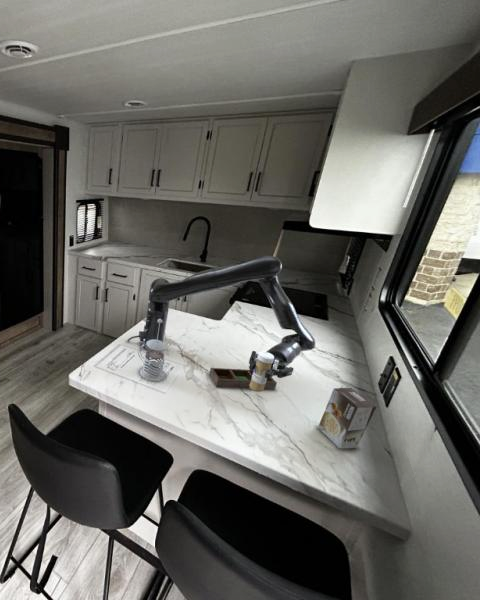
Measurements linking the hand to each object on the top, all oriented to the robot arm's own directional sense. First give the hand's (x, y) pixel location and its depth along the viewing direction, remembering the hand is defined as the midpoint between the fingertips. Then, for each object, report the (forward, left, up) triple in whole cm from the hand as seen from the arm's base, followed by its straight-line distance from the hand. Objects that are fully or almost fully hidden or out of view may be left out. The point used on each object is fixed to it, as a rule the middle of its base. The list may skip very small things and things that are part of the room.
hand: (258, 371), depth 103 cm
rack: (+6, +18, -17) cm, 26 cm away
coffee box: (+25, -9, -18) cm, 32 cm away
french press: (-30, +21, -18) cm, 41 cm away
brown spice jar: (+2, +2, -8) cm, 8 cm away
